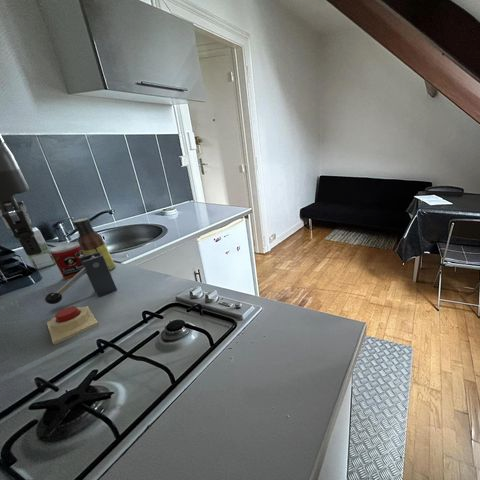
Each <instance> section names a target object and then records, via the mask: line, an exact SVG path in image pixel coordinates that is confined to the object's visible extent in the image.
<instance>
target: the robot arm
mask: <svg viewBox="0 0 480 480" xmlns="http://www.w3.org/2000/svg"><path fill="white" fill-rule="evenodd" d="M29 190H30V187H29V185H28V183H27V181H26V178H25V177H24V175H23V172H22V170H21V168H20V166H19V165H18V162H17V160H16V158H15V156H14V154H13V153H12V151H11V150H10V148H9V147H8V145H7V143H6V142H5V139H4V138H3V136H2V134H1V133H0V218H1V220H2V222H3V223H4V226H5V227H6V228H7V229H9V230H11V232H12V234H13V237H14V238H15V239H16V240H17V241H19V243H20V245H21V247H22V249H23V250H25V251H24V253H25V254H26V256H27V255H28V256H32V255H35V254H39V253H41V252H42V251H41V249H40V246H39V244H38V242H37V240H36V239H35V237H34V232H33V231H32V230H33V229H32V228H33V227H31V225H32V221H31V219H30V217H29V214H28V213H27V207H26V205H25V203H24V201H23V200H19V201H17V200H16V198H15V195H17V194H24V193H27V192H28V191H29ZM28 256H27V257H28Z"/></svg>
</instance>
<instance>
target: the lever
mask: <svg viewBox="0 0 480 480" xmlns="http://www.w3.org/2000/svg"><path fill="white" fill-rule="evenodd" d="M94 257H95V256H94V255H92V256H91V257H90V258H89V259H91V258H94ZM86 272H87V271H86V269H85V267H84V268H83V269H82V270H81V271H79V272H78V273H77V274H76V275H75V276H74V277H73V278H71V279H68V280H67V282H65V284H63V286H61V287H60V288H59V289H58V290H57V291H51V292H49V293H47V294H46V295H45V298H44V301H45V302H46V303H47V304H49V305H56V304H59V303H61V301H62V300H63V294H64V293H65V292H67V290H69V288H70V287H72V286H73V285H74V284H76V282H78V280H80V278H82V277H84V275H86V274H87V273H86ZM85 273H86V274H85Z"/></svg>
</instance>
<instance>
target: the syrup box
mask: <svg viewBox="0 0 480 480" xmlns="http://www.w3.org/2000/svg"><path fill="white" fill-rule="evenodd" d="M31 228H32V229H33V230H32V231H33V232H34V237H35V239H36V240H37V242H38V244H39V246H40V249H41V251H42V252H41V253H39V254H35V255H32V256H28V255H27V254H26V256H27V258H28V260H29V261H30V263H31V265H32V267H33V268H34V269H35V268H36V269H38V270H41V269H44V268H48V267H51V266H54V265H57V264H56V262H55V261H54V259H53V257H52V255H51V253H50V248H49V247H48V244H47V243H46V240H45V238H44V236H43V234H42V232H41V230H40V229H39V228H37V227H36V226H35V227H31ZM23 250H24V249H23ZM24 252H25V250H24ZM36 269H35V270H36Z"/></svg>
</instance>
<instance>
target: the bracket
mask: <svg viewBox="0 0 480 480" xmlns="http://www.w3.org/2000/svg"><path fill="white" fill-rule="evenodd" d="M92 255H94V256H95V257H94V258H91V259H89V258H90V257H91V256H92ZM79 258H80V260H81V262H82V265H83V267H85V269H86V271H87V272H86V276H87V278H88V279H89V282H90V284H91V286H92V288H93V290H94V292H95V293H96V294H97V297H98V298H101V297H104V296H106V295H109V294H112V293H114V292H116V291H118V288H117V286H116V284H115V281H114V279H113V277H112V274H111V271H109V269H108V267H107V265H106V262H105V260H104V258H103V256H102V255H100V253H99V252H96V253H93V254H89V255H86V256H82V257H79Z"/></svg>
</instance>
